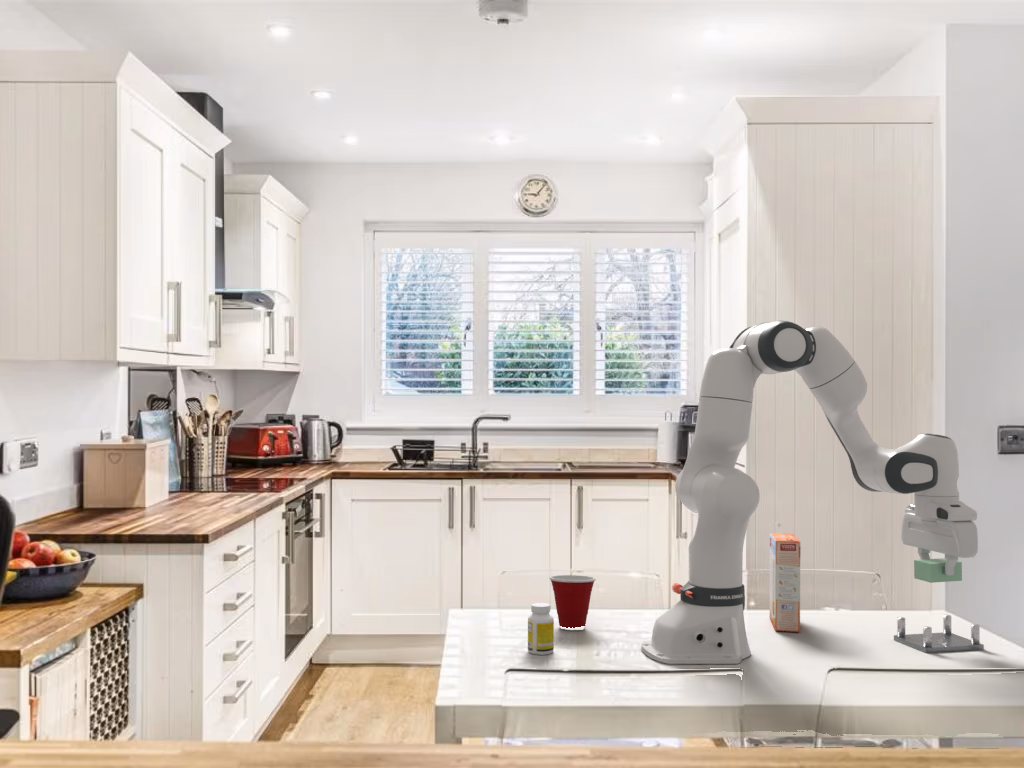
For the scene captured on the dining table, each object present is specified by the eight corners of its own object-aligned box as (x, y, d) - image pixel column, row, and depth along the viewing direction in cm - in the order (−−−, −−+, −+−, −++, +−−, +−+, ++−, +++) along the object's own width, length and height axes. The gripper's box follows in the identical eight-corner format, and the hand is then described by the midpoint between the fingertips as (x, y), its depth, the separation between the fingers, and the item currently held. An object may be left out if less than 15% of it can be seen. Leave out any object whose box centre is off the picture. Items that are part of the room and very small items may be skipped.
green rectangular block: (930, 582, 187) (930, 563, 187) (914, 578, 192) (914, 559, 192) (962, 580, 189) (961, 562, 189) (945, 576, 194) (944, 558, 194)
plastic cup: (597, 623, 208) (597, 572, 208) (594, 634, 197) (594, 581, 197) (551, 621, 209) (551, 570, 210) (546, 632, 198) (546, 579, 199)
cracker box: (801, 633, 199) (801, 541, 200) (774, 632, 200) (773, 540, 201) (794, 619, 213) (794, 532, 213) (769, 617, 214) (768, 531, 215)
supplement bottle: (558, 651, 184) (558, 603, 184) (545, 657, 179) (545, 608, 179) (536, 647, 187) (536, 600, 187) (522, 652, 182) (522, 605, 182)
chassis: (925, 652, 183) (925, 628, 184) (893, 639, 194) (893, 617, 194) (983, 649, 186) (983, 625, 186) (949, 636, 197) (948, 614, 197)
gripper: (893, 503, 200) (894, 564, 200) (956, 514, 180) (957, 581, 180) (917, 502, 202) (918, 563, 201) (983, 513, 182) (984, 580, 181)
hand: (937, 572), depth 190 cm, fingers closed on green rectangular block, 5 cm apart
